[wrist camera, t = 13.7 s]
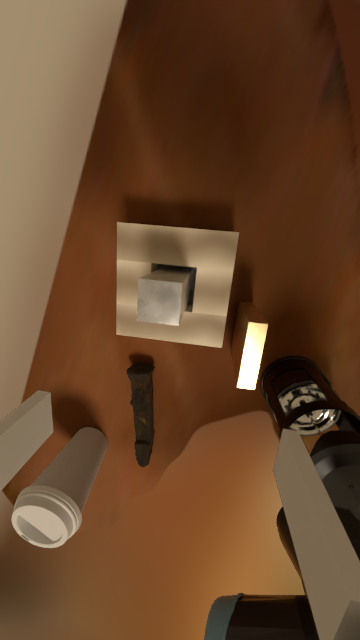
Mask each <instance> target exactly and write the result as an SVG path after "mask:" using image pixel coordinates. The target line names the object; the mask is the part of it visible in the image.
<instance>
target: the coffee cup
mask: <svg viewBox="0 0 360 640" xmlns="http://www.w3.org/2000/svg"><path fill="white" fill-rule="evenodd" d="M107 448H108V440H107V438H106V436H105V435H104V434H103V433H102V432H101V431H100V430H98V429H96V428H92V427H84V428H82V429H80V430H79V431H78V432H77V433H76V434H75V435H74V436H73V437H72V439H71V440H70V441H69V442H68V443H67V444H66V446H65V447H64V448H63V449H62V450H61V451H60V453H59V454H58V455H57V456H56V457H55V458H54V460H53V461H52V462H51V463H50V464H49V465H48V466H47V468H46V469H45V470H44V471H43V472H42V473H41V474H40V476H39V477H38V478H37V479H36V480H35V481H34V482H33V484H32V485H31V486H30V487H27V488H25V489H24V490H22V491H21V493H20V494H19V496H18V498H17V500H16V503H15V507H14V512H13V514H12V524H13V527H14V529H15V530H16V531H17V533H18V534H19V535H20V536H21V537H22V538H24V539H25V540H27V541H28V542H30V543H32V544H34V545H36V546H39V547H44V548H55V547H59V546H61V545H62V544H63V543H65V541H66V540H67V539H68V538H70V537H71V536H72V535H73V534H74V533H75V532H76V531H77V529H78V528H79V527H80V525H81V521H82V516H81V513H82V511H83V508H84V506H85V503H86V501H87V498H88V495H89V493H90V490H91V488H92V485H93V483H94V480H95V478H96V475H97V473H98V470H99V468H100V465H101V463H102V460H103V458H104V455H105V453H106V450H107Z"/></svg>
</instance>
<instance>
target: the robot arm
mask: <svg viewBox="0 0 360 640" xmlns="http://www.w3.org/2000/svg"><path fill="white" fill-rule="evenodd" d="M52 433H53V420H52V407H51V393H50V392H45V391H37V392H36V393H34V394H33V395H32V396H31V397H29V398H28V399H27V400H26V401H24V402H23V403H22V404H21V405H19V406H18V407H17V408H15V410H13V411H12V412H11V413H9V414H8V415H7V416H5V417H4V418H3V419H2V420H1V421H0V491H1V490H2V489H3V488H4V487H5V486H6V484H7V483H8V482H9V481H10V480H11V479H12V478H13V477H14V475H15V474H16V473H17V472H18V471H19V470H20V469H21V468H22V466H23V465H24V464H25V463H26V462H27V461H28V460H29V459H30V457H31V456H32V455H33V454H34V453H35V452H36V451H37V450H38V448H39V447H40V446H41V445H42V444H43V443H44V442H45V441H46V439H47V438H48V437H49V436H50V435H51V434H52ZM273 471H274V475H275V479H276V482H277V486H278V489H279V493H280V497H281V500H282V504H283V507H282V508H281V509H280V511H279V513H278V516H277V527H278V532H279V536H280V539H281V542H282V544H283V546H284V548H285V550H286V552H287V554H288V556H289V557H290V559H291V561H292V563H293V565H294V567H295V569H296V571H297V572H298V574H299V576H300V578H301V581H302V584H303V588H304V592H305V595H295V596H294V595H246V594H243V593H239V594H238V595H231V596H221V597H218V598H217V599H216V600H215V601H214V603H213V604H212V606H211V609H210V612H209V615H208V619H207V624H206V630H205V637H204V640H360V519H357V518H356V517H355V516H354V515H353V514H352V513H351V511H350V510H346V509H340V508H335V507H334V506H333V504H332V502H331V500H330V498H329V495H328V493H327V491H326V489H325V487H324V485H323V483H322V481H321V479H320V476H319V474H318V472H317V470H316V468H315V466H314V464H313V462H312V460H311V457H310V455H309V453H308V451H307V449H306V447H305V445H304V443H303V441H302V438H301V436H300V434H299V432H298V431H294V430H288V429H283V431H282V435H281V439H280V443H279V447H278V452H277V456H276V460H275V464H274V468H273Z"/></svg>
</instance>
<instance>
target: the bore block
mask: <svg viewBox="0 0 360 640" xmlns="http://www.w3.org/2000/svg"><path fill="white" fill-rule="evenodd" d="M238 237H239V232H228V231H216V230H205V229H193V228H181V227H169V226H157V225H145V224H134V223H122V222H117V330H116V334H117V335H125V336H133V337H140V338H148V339H156V340H164V341H172V342H180V343H187V344H195V345H203V346H211V347H219V348H222V344H223V337H224V330H225V324H226V317H227V310H228V304H229V297H230V290H231V284H232V277H233V270H234V264H235V257H236V250H237V244H238ZM162 267H170V268H180V269H190V270H193V271H192V281H191V291H190V299H189V302H188V304H187V307H186V309H185V312H184V314H183V317H182V319H181V322H180V324H179V326H174V325H166V324H158V323H150V322H142V321H137V301H138V278H140V277H143V276H145V275H147V274H149V273H151V272H153V271H155V270H158V269H160V268H162Z"/></svg>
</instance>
